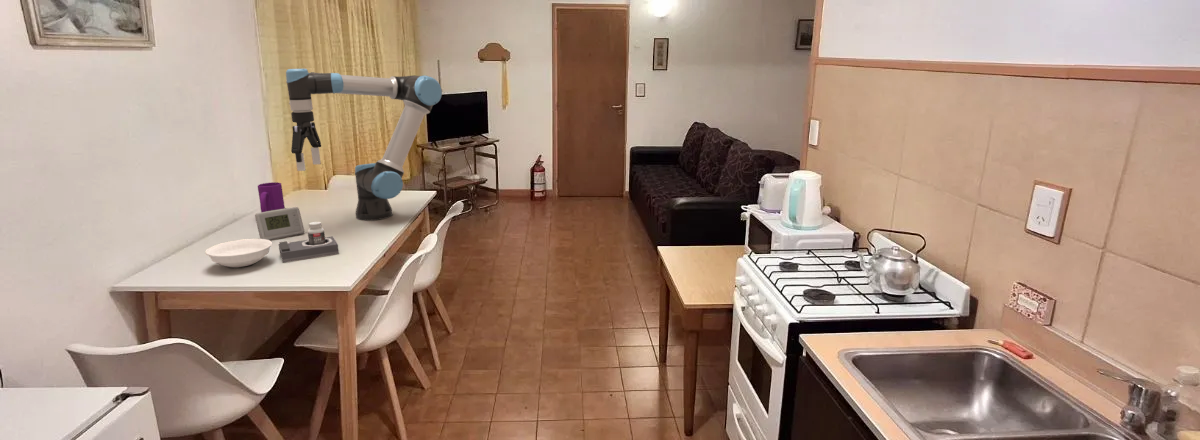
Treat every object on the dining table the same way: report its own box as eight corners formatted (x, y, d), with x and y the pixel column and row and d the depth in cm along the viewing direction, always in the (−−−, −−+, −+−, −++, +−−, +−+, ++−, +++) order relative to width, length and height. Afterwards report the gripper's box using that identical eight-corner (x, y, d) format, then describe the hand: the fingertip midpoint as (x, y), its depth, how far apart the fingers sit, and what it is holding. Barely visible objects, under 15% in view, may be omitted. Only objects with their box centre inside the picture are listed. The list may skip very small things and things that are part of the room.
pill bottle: (316, 252, 224) (313, 225, 222) (306, 250, 227) (303, 223, 224) (329, 248, 229) (326, 222, 226) (319, 246, 231) (316, 220, 229)
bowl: (203, 278, 203) (200, 259, 201) (212, 260, 220) (209, 242, 219) (273, 269, 210) (270, 251, 209) (276, 252, 228) (273, 235, 226)
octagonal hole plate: (333, 245, 236) (332, 234, 235) (338, 253, 226) (337, 242, 225) (279, 253, 227) (278, 241, 226) (282, 262, 217) (281, 250, 216)
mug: (289, 215, 281) (284, 181, 277) (276, 224, 266) (271, 189, 262) (267, 216, 279) (261, 182, 276) (253, 225, 265) (247, 190, 261)
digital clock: (259, 242, 240) (255, 215, 237) (257, 237, 248) (253, 210, 245) (306, 236, 248) (302, 209, 245) (303, 231, 256) (299, 205, 253)
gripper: (306, 108, 250) (313, 161, 255) (275, 114, 226) (284, 173, 231) (325, 108, 250) (332, 161, 255) (297, 114, 226) (304, 173, 231)
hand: (309, 167), depth 243 cm, fingers open, 13 cm apart
